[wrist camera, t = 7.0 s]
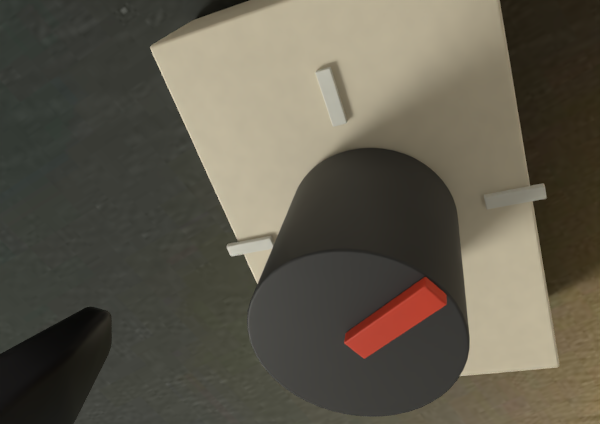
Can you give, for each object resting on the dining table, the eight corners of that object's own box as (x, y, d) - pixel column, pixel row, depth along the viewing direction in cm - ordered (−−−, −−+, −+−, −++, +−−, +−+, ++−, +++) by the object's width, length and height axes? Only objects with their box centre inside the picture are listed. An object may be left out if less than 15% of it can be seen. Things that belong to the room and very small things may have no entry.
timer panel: (182, 23, 16) (134, 51, 13) (489, -85, 13) (505, -75, 11) (311, 330, 21) (295, 395, 19) (551, 300, 18) (572, 371, 16)
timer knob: (373, 312, 16) (357, 455, 12) (259, 219, 15) (200, 340, 11) (494, 226, 14) (523, 366, 10) (370, 111, 13) (345, 214, 9)
